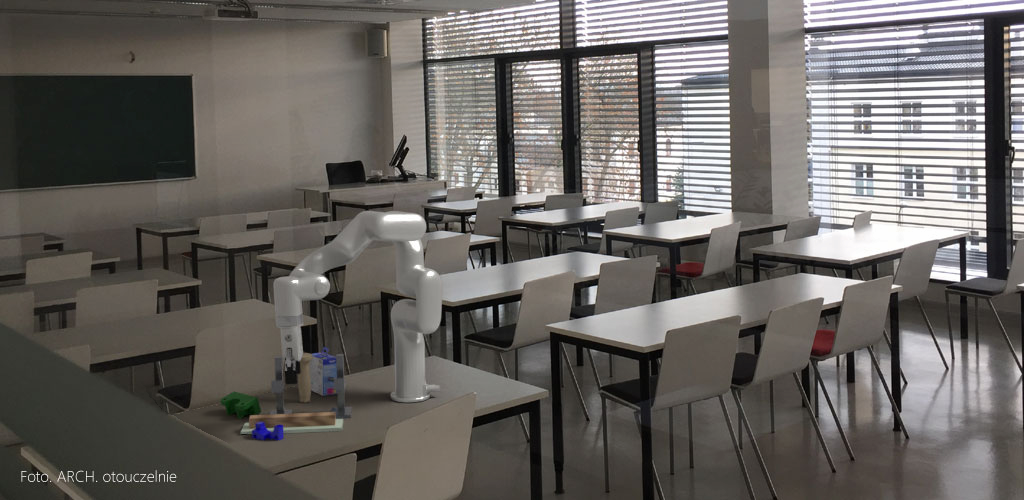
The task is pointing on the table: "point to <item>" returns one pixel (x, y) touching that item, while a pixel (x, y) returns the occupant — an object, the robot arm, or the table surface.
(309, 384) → the handle
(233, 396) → the clamp
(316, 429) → the board
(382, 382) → the table surface
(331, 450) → the table surface
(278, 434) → the cable holder
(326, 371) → the ink cartridge box
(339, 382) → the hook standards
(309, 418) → the rail
